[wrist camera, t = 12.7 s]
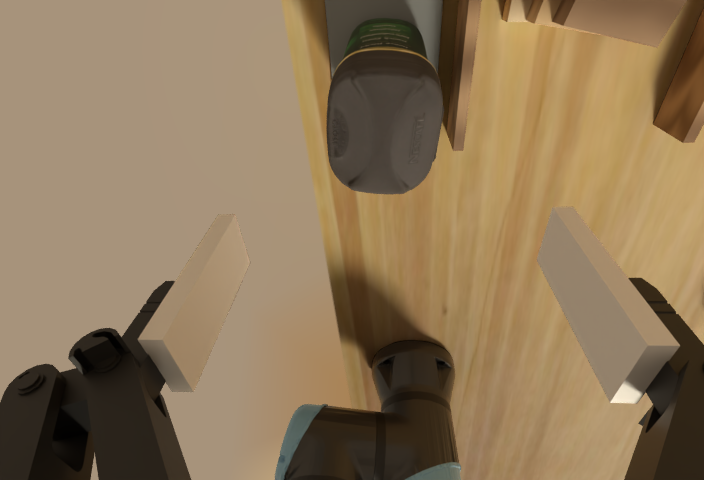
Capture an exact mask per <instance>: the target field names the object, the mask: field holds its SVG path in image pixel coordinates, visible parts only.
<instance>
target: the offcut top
mask: <svg viewBox="0 0 704 480" xmlns="http://www.w3.org/2000/svg"><path fill="white" fill-rule="evenodd" d="M686 1H687V0H561V3H560V5H559V7H558V9H557V11H556V14H555V16H554V18H553V20H552V22H554V23H557V24H560V25H563V26H567V27H571V28H575V29H579V30H584V31H588V32H592V33H597V34H601V35H605V36H609V37H614V38H618V39H622V40H626V41H631V42H635V43H639V44H643V45H648V46H652V47H656V48H657V47H658V46H659V44H660V42H661V41H662V39H663V38H664V36H665V34H666V33H667V31H668V30H669V28H670V26H671V25H672V23H673V22H674V20H675V19H676V17H677V15H678V14H679V12H680V11H681V9H682V7H683V6H684V4H685V3H686Z"/></svg>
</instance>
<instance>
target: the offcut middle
mask: <svg viewBox="0 0 704 480" xmlns="http://www.w3.org/2000/svg"><path fill="white" fill-rule="evenodd" d="M560 3H561V0H533V1H532V4H531V6H530V9H529V12H528V14H527V17H526V20H527V21H529V22H532V23H534V24H540V25H546V26H552V27H557V28H563V29H569V30H575V31H580V32H586V33H592V32H588V31H584V30H579V29H575V28H571V27H567V26H563V25H560V24H557V23H554V22H552V20H553V18H554V16H555V14H556V11H557V9H558V7H559V5H560ZM592 34H597V33H592ZM598 35H601V34H598ZM604 36H605V35H604Z"/></svg>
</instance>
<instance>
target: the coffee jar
mask: <svg viewBox="0 0 704 480" xmlns="http://www.w3.org/2000/svg"><path fill="white" fill-rule="evenodd" d="M443 114H444V107H443V97H442V90H441V84H440V79H439V77H438V74H437V72H436V70H435V68H434V66H433V65H432V64H431V63H430V62H429V61H428V58H427V54H426V48H425V45H424V41H423V38H422V35H421V33H420V31H419V30H418V29H417V27H416V26H415V25H413V24H411V23H410V22H408V21H404V20H400V19H391V18H375V19H370V20H366V21H364V22H362V23H361V24H359V25H358V26H357V27H356V28H355V29H354V31H353V32H352V34H351V36H350V39H349V41H348V44H347V47H346V50H345V54H344V57H343V60H342V61H341V62H340V64H339V65H338V66H337V68H336V70H335V72H334V74H333V78H332V81H331V86H330V90H329V96H328V107H327V144H328V156H329V162H330V166H331V168H332V170H333V172H334V174H335V175H336V177H337V178H338V179H339V180H340V181H341V182H342V183H343V184H344V185H346V186H347V187H349V188H350V189H352V190H354V191H359V192H366V193H375V194H403V193H405V192H407V191H409V190H412V189H413V188H415V187H416V186H418V185H419V184H420V183H421V182H422V181H423V180H424V179H425V177H426V176H427V174H428V173H429V171H430V169H431V166H432V162H433V161H434V160H435V158H436V152H437V146H438V141H439V135H440V129H441V124H442V119H443Z"/></svg>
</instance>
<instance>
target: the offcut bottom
mask: <svg viewBox="0 0 704 480" xmlns="http://www.w3.org/2000/svg"><path fill="white" fill-rule="evenodd" d="M532 1H533V0H506V1H505V6H504V12H503V17H502V20H504V21H506V22H529V21H527V20H526V17H527V14H528V12H529V9H530V6H531V4H532Z"/></svg>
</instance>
